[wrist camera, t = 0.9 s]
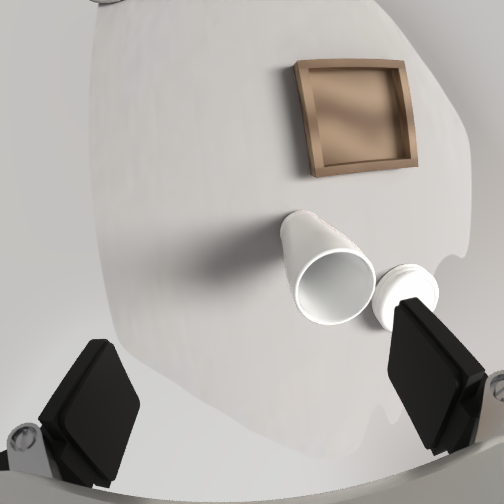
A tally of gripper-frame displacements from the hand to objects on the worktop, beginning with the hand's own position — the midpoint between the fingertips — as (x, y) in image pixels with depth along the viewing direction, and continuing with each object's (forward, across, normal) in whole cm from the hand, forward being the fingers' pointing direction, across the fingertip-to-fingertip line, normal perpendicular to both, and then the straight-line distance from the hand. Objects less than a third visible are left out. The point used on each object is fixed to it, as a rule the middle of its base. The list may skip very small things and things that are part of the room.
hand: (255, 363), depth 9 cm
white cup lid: (+29, -20, +16) cm, 38 cm away
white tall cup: (+28, -6, +4) cm, 29 cm away
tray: (+27, -14, -9) cm, 32 cm away
